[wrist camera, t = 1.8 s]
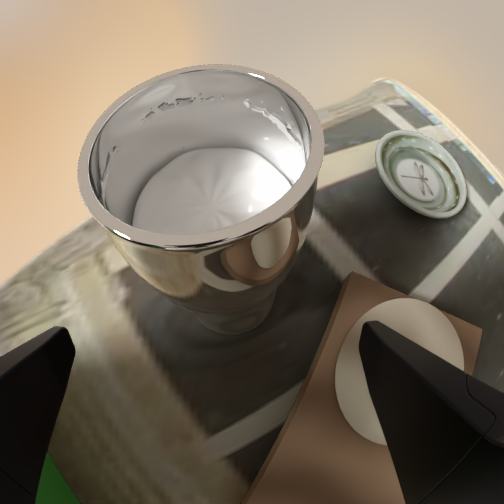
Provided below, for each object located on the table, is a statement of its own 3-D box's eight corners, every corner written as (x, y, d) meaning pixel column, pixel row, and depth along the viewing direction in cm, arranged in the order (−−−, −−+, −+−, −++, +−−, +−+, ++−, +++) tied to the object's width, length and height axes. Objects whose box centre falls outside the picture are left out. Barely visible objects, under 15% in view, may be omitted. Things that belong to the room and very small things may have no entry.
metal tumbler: (288, 254, 22) (334, 74, 8) (272, 350, 19) (322, 287, 6) (195, 238, 23) (134, 61, 9) (171, 329, 20) (30, 231, 6)
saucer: (353, 146, 26) (359, 129, 24) (428, 144, 27) (437, 130, 25) (392, 237, 23) (404, 223, 21) (469, 222, 23) (482, 210, 21)
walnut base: (383, 537, 13) (394, 548, 11) (238, 506, 15) (237, 519, 13) (467, 333, 19) (484, 328, 17) (343, 280, 21) (353, 270, 19)
